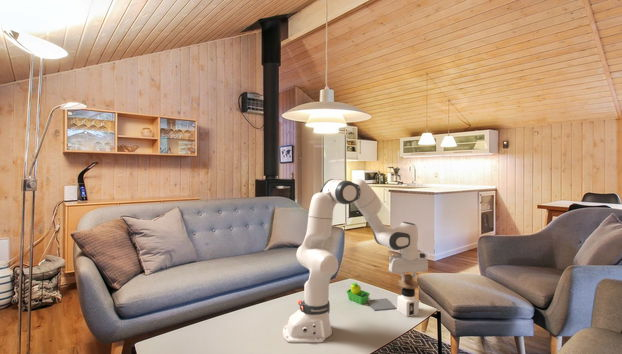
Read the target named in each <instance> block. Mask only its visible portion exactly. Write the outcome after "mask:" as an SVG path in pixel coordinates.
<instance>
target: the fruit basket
mask: <svg viewBox="0 0 622 354" xmlns="http://www.w3.org/2000/svg"><path fill="white" fill-rule="evenodd" d="M346 294H347V296H348V297H347V298H348V300H349V301H352V302H354V303H355V304H358V303H359V304H358V305H361V306H362V305H364V304H366V303H368V302H367V301H368V300H369V296H370V292H368V291H366V290H362V288H361V286H360V285H359V284H357V282H353V283H351V285H350V289H347V290H346Z"/></svg>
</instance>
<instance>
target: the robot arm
mask: <svg viewBox="0 0 622 354" xmlns="http://www.w3.org/2000/svg"><path fill="white" fill-rule="evenodd" d="M352 203H353V204H354V205H355V207H356V208H357V209H358V211H359V212H360V213H361V215H362V216H363V217H364V219H365V221H366V222H367V225H368V226H369V227H370V228H371V231H372V233H373V238H374V240H375V242H376V243H377V244H378V245H379V246H384V247H387V248H389V249H392V250H393V251H399V253H398V254H397V253H396V254H392V255H390V256H389V259H388V260H389V261H388V263H389V264H388V271H389V272H390V273H391V274H399V275H400V276H401V280H402V281H406V277H404V274H409V273H412V274H411V275H412V276H413V281H415V280H416V279H415V277H416V275H417V274H418V272H419V273H420V272H427V271H428V270H429V262H428V258H427V257H428V253H425V252H424V251H421V250H419V249H418V248H419V247H418V241H419V232H418V226H417V225H416V224H415V223H412V222H407V221H402V222H401V223H400V224H399V226H396V227H395V228H391V227H388V226H386V225H384V223H383V222H382V220H381V218H380V217H379V215H378V213H379V212H380V211H381V209H382V203H381V200H380V198H379V196H378V194H377V193H376V192H375V190H373V188H372V187H371V186H370V184H368V183H367V182H366V181H365V180H363V179H359V178H358V179H355V180H353V181H351V180H344V179H341V178H335V179H334V178H331V179H329V180H327V181H325V182H324V184H323V185H322V188H321V190H320V191H319V192H316V193H315V194H313V195H312V197H311V200H310V204H309V209H308V214H307V215H308V217H307V225H306V233H305V236H304V239H303V242H302V244H300V246H298V248H297V250H296V253H295V254H296V259H297V261H298V262H299V264H300V265H301V266H302V267H305V268H306V269H308V271H309V276H308V277H309V278H308V280H306V282H304V284H303V286H304V289H303V290H304V291H303V292H304V293H303V294H304V298H303V301H302V299H298V300H297V304H298V306H299V308H298V310H296V311H295V312H293V313H292V314H291V315H290V316H289V318H288V321H287V324H285V325H284V326H283V328H282V336H283V339H284V340H285V341H286V342H288V343H295V344H296V343H323V342H324V341H325V340H326V339H327V338H328V337H330V336H331V335H332V333H333V329H332V325H331V320H330V311H331V308H330V307H331V305H330V300H329V298H330V297H329V290H330V289H329V287H330V282H331V278H332V277H333V276H334V275H336V273H337V271H338V269H339V260H338V258H337V257H336V256H335V255H334V254H333V253H332V252H330V251H329V250H326V249H324V246H325V243H326V242H327V241H326V240H327V239H329V238H330V237H331V235H332V228H333V219H334V210H335V209H334V208H335V206H336V205H337V204H339V205H340V204H341V205H349V204H352Z"/></svg>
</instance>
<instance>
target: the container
mask: <svg viewBox="0 0 622 354" xmlns="http://www.w3.org/2000/svg"><path fill="white" fill-rule="evenodd" d="M415 296H416V289H405V288H402V287H401V295H399V296H397V297H396V298H397V300H396V301H397V304H396V305H397V306H396V309H397V311H398V313H400V314H402V315H403V316H404V317H406V318H408V317H412V316H416V315H419V313H420V312H419V311H420V310H419V308H420V299H418V298H417V297H415Z"/></svg>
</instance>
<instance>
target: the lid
mask: <svg viewBox="0 0 622 354" xmlns="http://www.w3.org/2000/svg"><path fill="white" fill-rule="evenodd" d="M404 277H406V281H402V279H399V280H398V281H397V285H398V287H400V288H401V289H402V288H405V289H415V290H416V289H418V288H419V282H418V281H415V280H413V276H412V274H410V273H404Z"/></svg>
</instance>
